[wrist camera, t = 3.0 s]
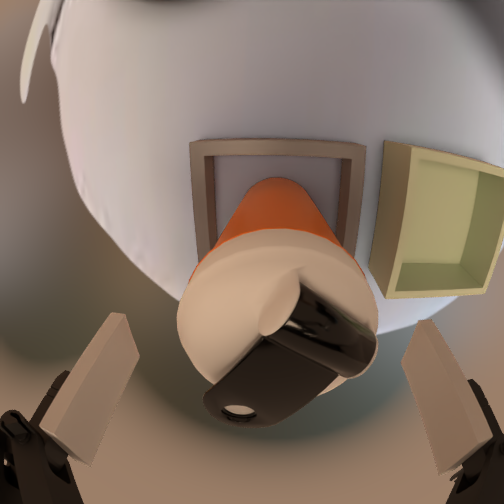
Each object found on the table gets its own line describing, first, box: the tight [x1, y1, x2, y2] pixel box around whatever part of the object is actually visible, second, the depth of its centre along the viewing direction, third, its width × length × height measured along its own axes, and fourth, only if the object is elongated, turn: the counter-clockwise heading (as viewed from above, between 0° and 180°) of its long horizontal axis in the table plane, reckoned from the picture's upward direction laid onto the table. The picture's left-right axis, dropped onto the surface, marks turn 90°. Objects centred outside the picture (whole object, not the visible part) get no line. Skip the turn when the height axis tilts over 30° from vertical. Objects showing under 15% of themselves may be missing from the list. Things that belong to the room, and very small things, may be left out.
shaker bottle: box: [177, 178, 378, 428], centre depth 18 cm, size 9×9×20 cm
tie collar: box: [189, 138, 366, 262], centre depth 26 cm, size 17×14×4 cm
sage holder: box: [368, 141, 504, 299], centre depth 23 cm, size 14×14×6 cm
